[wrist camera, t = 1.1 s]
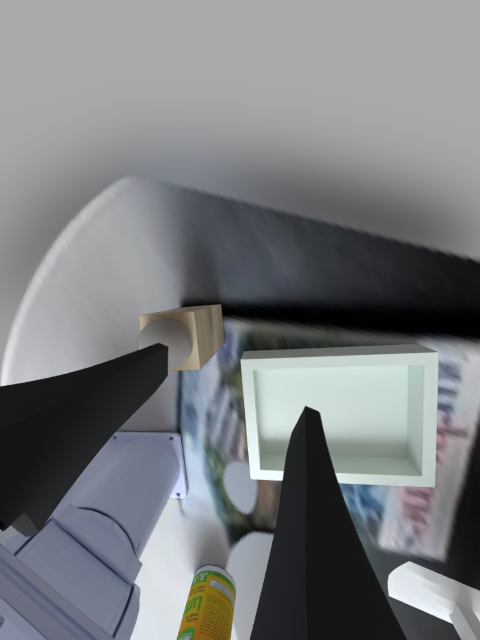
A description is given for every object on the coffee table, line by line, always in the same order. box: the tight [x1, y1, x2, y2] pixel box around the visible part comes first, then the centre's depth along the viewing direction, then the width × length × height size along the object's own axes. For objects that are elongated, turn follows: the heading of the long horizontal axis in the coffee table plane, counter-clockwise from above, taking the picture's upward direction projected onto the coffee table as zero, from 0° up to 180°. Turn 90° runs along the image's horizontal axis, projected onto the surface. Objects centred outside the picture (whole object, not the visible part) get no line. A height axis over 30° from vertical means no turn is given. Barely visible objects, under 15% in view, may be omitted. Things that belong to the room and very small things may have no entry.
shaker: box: [138, 304, 225, 371], centre depth 19 cm, size 4×4×9 cm
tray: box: [241, 344, 439, 487], centre depth 21 cm, size 16×12×3 cm
